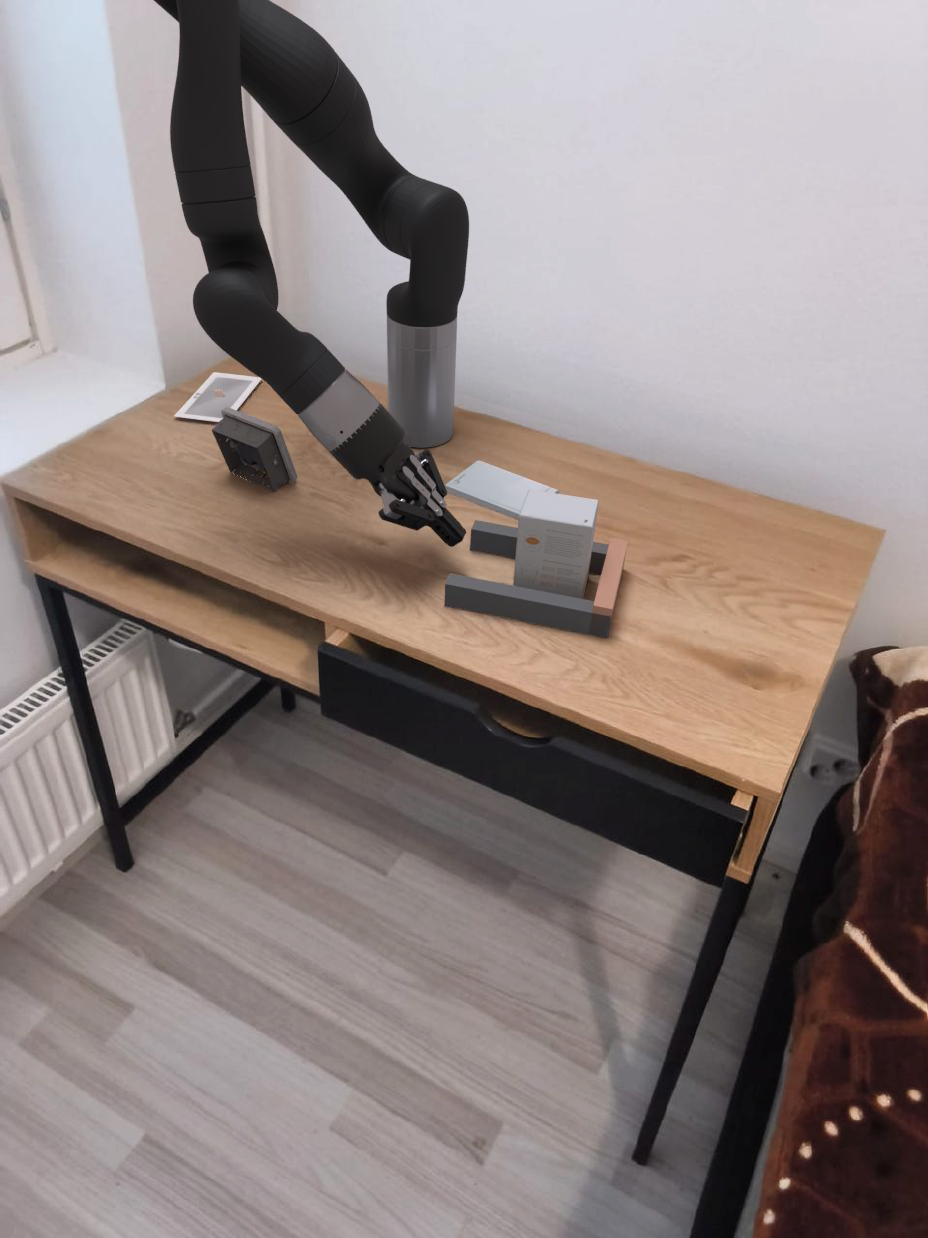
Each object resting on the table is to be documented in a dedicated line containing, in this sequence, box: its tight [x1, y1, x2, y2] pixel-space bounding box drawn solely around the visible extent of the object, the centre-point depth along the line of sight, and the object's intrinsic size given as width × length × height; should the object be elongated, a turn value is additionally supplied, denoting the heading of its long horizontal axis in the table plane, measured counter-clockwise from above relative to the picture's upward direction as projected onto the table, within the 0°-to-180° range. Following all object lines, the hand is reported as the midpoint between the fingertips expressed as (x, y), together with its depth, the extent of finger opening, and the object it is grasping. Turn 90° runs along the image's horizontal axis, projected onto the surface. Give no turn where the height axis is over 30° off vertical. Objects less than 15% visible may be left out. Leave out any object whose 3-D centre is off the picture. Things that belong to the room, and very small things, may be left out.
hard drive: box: [444, 460, 560, 521], centre depth 119 cm, size 2×8×12 cm
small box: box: [512, 489, 600, 599], centre depth 101 cm, size 8×6×10 cm
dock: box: [443, 519, 629, 639], centre depth 103 cm, size 13×18×4 cm
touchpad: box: [173, 371, 262, 423], centre depth 135 cm, size 8×15×2 cm, turn 170°
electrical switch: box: [211, 407, 299, 493], centre depth 116 cm, size 9×5×9 cm, turn 57°
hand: (459, 539), depth 103 cm, fingers closed
